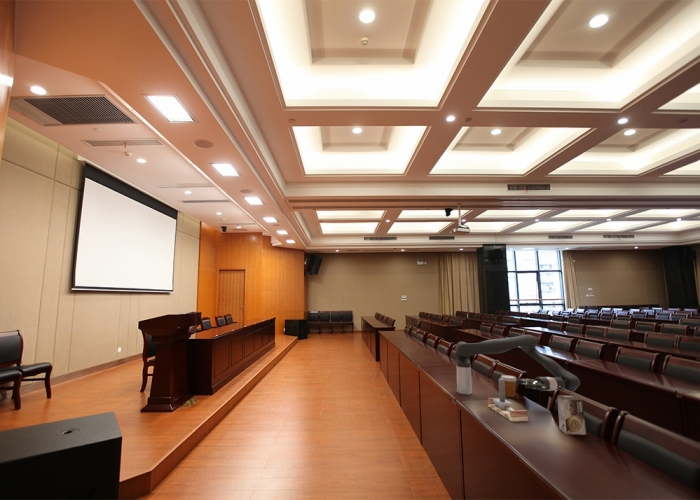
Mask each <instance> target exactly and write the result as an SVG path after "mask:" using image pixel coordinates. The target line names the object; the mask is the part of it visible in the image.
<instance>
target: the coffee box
mask: <svg viewBox="0 0 700 500" xmlns="http://www.w3.org/2000/svg"><path fill="white" fill-rule="evenodd" d="M556 398H557V411H558V413H557V414H558V424H559V425H558V427H559V430H561V431H562V432H563V433H564V434H566V435H583V436H585V435H586V436H587V432H586V422H585V421H586V420H585V411H584V400H583V399H582V398H580V397H579V396H576V395H566V394H565V395H563V394H561V395H560V394H559V395H558V394H557V396H556Z"/></svg>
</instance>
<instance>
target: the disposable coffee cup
mask: <svg viewBox="0 0 700 500" xmlns="http://www.w3.org/2000/svg"><path fill="white" fill-rule="evenodd" d="M500 379H504V384H505V397H508V398H509V397H510V398H515V397H516V385H517V384H516V380H518V379H517V377H516V376H514V375H506V374H503V375H502V374H501V376H500Z"/></svg>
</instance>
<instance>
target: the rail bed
mask: <svg viewBox="0 0 700 500" xmlns="http://www.w3.org/2000/svg"><path fill="white" fill-rule="evenodd" d="M487 399H488V404H487V405H488V406H487V407H488V408H489V407H490V408H489V409H492V410H493V411H494V410H495V412H496V413H498V414H499V415H500V416H502V415H503V417H504V418H506V419H507V418H508V419H507V420H509V421H510V422H528V421H529V417H528V415H529V414H528V410H527V409H517V410H516V409H514V408H512V406H510V407H508V406H505V409H502V408H500V407H499V406H497V405H495V403H494V402H493V399H499V397H487Z"/></svg>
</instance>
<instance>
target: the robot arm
mask: <svg viewBox="0 0 700 500" xmlns="http://www.w3.org/2000/svg"><path fill="white" fill-rule="evenodd" d="M537 341H538V340H537V337H536V336H533V335H531V334H523V335H518V336H513V337H505V338H504V337H503V338H493V339H487V340H483V341H481V342H476V343H475V342H474V343H470V342H469V343H467V342H465V341H458V342H457V343H456V345H455V351H454V352H455V362H456V392H457V393H458V394H460V395H468V396H469V395H472V390H473V389H472V364H471V360H470V357H471V356H476V355H493V354H502V353H506V352H508V351H510V350H512V349H515V348H520V349H521V350H522V351H523V352H524V353H525V354H526V355H529V356H530V357H531V358H533V359H534V360H535V361H536V362H538V363H539V364H540V365H542V366H543V367H544V368H545V369H546V370H547V371H548V372H549V373H551V375H552V376H536V377H535V378H534V379H530V378H519V379H517V380H516V385H525V386H524V387H525V389H533V390H534V389H535V390H536V391H537V390H538V391H541V392H543V391H545V392H546V391H548V392H549V391H551V392H552V391H563V392H565V391H564V390H565V389H567V390H569V391H572V392H571V393H573V392H575V391H576V390H577V389H578V387H579V386H580V385H581V380H580V378H578V376H576V375H575V374H573V373H572V372H570V371H567V370H566V368H563V367H562V366H561V365H560V364H559V363H557V361H555V360H554V359H552V358H550V357H548V356H546V355H544V354H542V353H541V352H540V351H539V350H538V348H537V347H536V346H537V343H538V342H537ZM562 377H563V378H564V379H563V378H562ZM559 386H561V387H559ZM557 387H558V388H557ZM562 387H563V388H564V389H563V388H562Z"/></svg>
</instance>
